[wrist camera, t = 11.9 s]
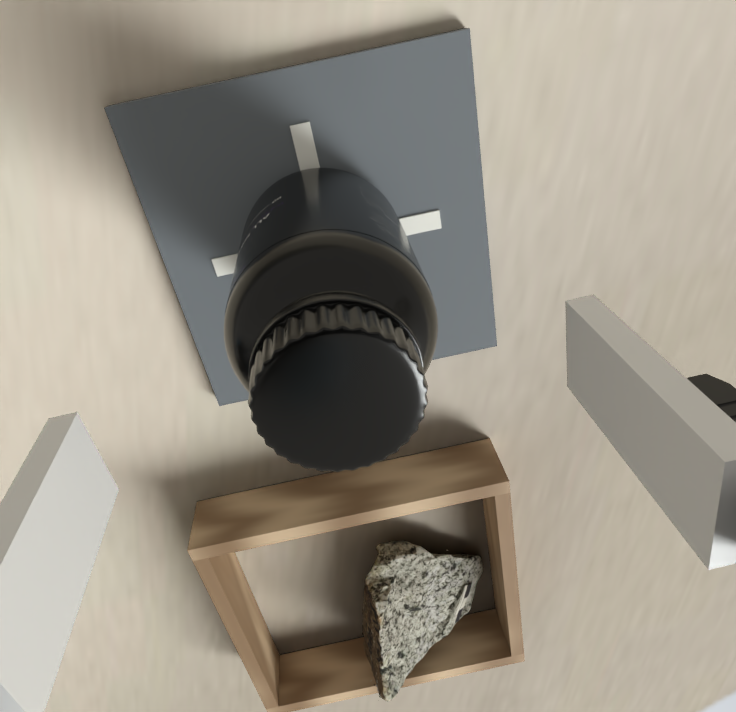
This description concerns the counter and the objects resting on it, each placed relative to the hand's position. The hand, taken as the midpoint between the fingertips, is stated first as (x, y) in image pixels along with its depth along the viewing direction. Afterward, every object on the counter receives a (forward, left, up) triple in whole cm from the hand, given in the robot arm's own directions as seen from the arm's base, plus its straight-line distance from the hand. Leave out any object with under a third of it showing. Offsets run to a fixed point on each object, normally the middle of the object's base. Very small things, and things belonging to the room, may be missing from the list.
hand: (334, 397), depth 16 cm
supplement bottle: (0, 0, -12) cm, 12 cm away
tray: (-2, -21, -12) cm, 24 cm away
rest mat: (0, 0, -12) cm, 12 cm away
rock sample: (+1, -22, -13) cm, 26 cm away
